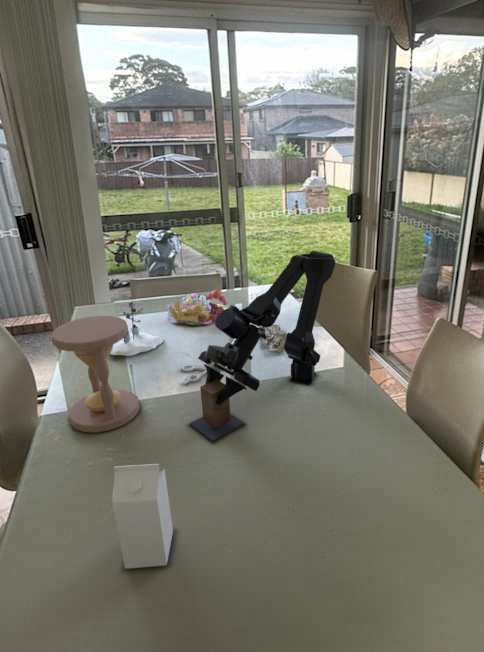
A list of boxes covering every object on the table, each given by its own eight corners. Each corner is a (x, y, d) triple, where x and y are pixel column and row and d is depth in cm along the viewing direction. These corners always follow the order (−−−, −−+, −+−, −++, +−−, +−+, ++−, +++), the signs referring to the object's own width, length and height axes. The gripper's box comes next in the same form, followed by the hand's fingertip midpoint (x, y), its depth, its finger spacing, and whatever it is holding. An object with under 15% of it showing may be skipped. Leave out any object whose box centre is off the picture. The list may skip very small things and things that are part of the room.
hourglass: (71, 403, 123) (53, 321, 114) (136, 390, 129) (124, 311, 120) (69, 440, 108) (48, 349, 99) (143, 423, 114) (130, 335, 105)
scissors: (177, 366, 141) (236, 354, 148) (177, 369, 141) (237, 356, 148) (183, 382, 132) (246, 369, 139) (183, 385, 132) (247, 371, 139)
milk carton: (134, 534, 82) (119, 452, 75) (173, 532, 83) (162, 449, 76) (124, 569, 76) (107, 482, 69) (166, 566, 76) (154, 479, 69)
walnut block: (218, 411, 116) (216, 379, 113) (230, 419, 113) (228, 386, 109) (203, 420, 113) (200, 386, 109) (215, 428, 110) (212, 394, 106)
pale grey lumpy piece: (298, 344, 151) (290, 333, 149) (274, 363, 150) (265, 352, 148) (277, 323, 174) (270, 314, 172) (256, 339, 173) (249, 330, 171)
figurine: (138, 361, 144) (134, 313, 139) (93, 354, 149) (88, 307, 145) (172, 341, 162) (170, 299, 158) (131, 336, 168) (127, 294, 163)
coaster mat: (220, 409, 120) (220, 407, 120) (244, 424, 113) (244, 422, 113) (189, 425, 113) (189, 423, 113) (213, 442, 107) (212, 440, 107)
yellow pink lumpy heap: (221, 327, 172) (220, 305, 169) (162, 327, 172) (159, 305, 169) (230, 304, 195) (229, 284, 192) (177, 304, 196) (175, 285, 192)
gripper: (201, 322, 113) (168, 375, 110) (248, 344, 101) (213, 404, 98) (227, 340, 121) (197, 390, 118) (274, 362, 109) (242, 419, 106)
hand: (210, 400), depth 110 cm, fingers closed on walnut block, 5 cm apart
